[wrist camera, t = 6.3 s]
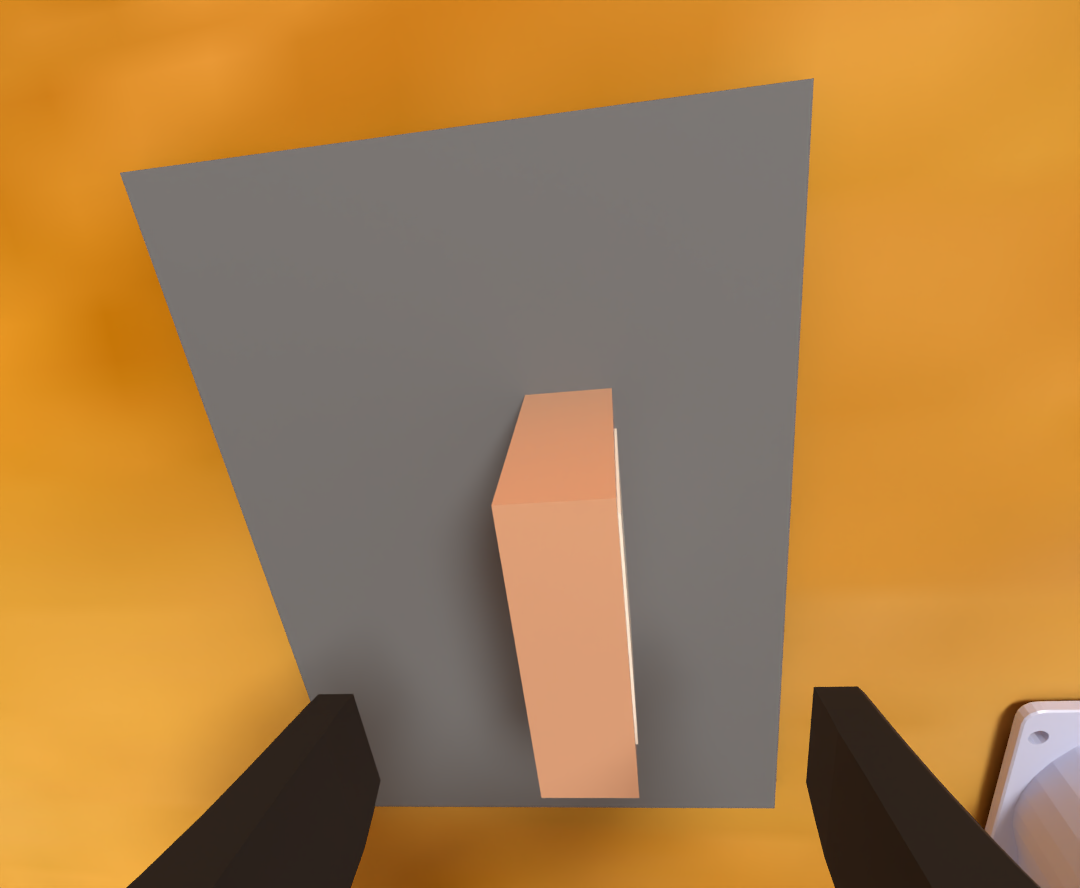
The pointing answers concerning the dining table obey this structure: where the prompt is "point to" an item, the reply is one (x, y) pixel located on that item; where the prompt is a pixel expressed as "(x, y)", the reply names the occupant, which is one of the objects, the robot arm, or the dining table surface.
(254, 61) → the dining table surface
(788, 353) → the mat
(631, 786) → the tile
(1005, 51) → the dining table surface
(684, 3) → the dining table surface
